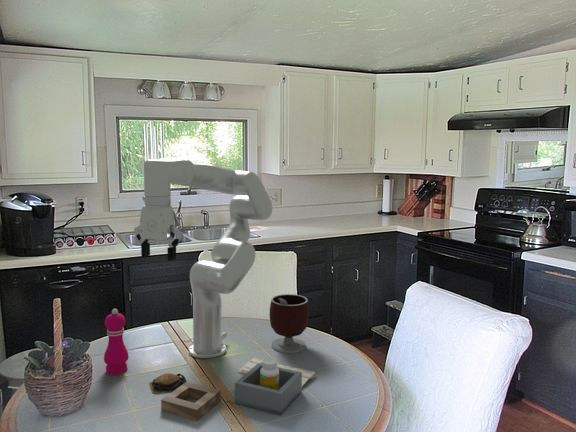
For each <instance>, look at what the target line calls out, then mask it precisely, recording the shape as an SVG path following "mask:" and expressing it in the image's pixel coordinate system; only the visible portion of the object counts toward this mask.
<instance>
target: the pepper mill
mask: <svg viewBox="0 0 576 432" xmlns="http://www.w3.org/2000/svg"><path fill="white" fill-rule="evenodd" d="M125 325H126V317H125V316H124V314H122V313H120V312H119V310H118V309H117V308H113V309H112V310H111V313H110V314H109V315H107V316H106V318H105V320H104V326H105V327H106V335H107V336H108V344H107V347H106V348H105V352H104V354H103V355H104V356H103V362H104V363H105V364H106V366H105V372H106V374H107V375H110V376H118V375H121V374H124V373H126V372H127V371H128V363H127V361H128V360H129V351H128V349H127V347H126V345H125V343H124V338H123V337H124V335H123V334H124V333H125V331H124V330H125V328H124V327H125Z"/></svg>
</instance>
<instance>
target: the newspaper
mask: <svg viewBox="0 0 576 432" xmlns="http://www.w3.org/2000/svg"><path fill="white" fill-rule="evenodd" d="M263 360H264V359H263V358H257V357H253V358H252V359H250V360H249V361H247V362H246V363H245V364H244V365H243V366H242V367H240V369H238V372H237V373H238V374H241V375H243V376H244V375H245V374H246V373H247V372H248V371H250V370H251V369H252V368H253V367H254V366H256V365H257V364H258V363H261V364H263ZM277 367H279V368H284V369H288V370H293V371H298V372H302V387H303V386H304V385H305V384H306V383H307V382H308V381H309V380H311V379H314V378H315V377H316V375H317V374H316V371H312V370H309V369H304V368H299V367H294V366H291V365H286V364H281V363H279V362H277Z"/></svg>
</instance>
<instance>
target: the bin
mask: <svg viewBox="0 0 576 432" xmlns="http://www.w3.org/2000/svg"><path fill="white" fill-rule="evenodd" d="M262 367H263V364H261V363H258V364H257V365H256V366H254V367H253V368H252V369H251V370H250V371H248V372H247V373H246V374H245V375H244V374H243V375H242V377H240V378H239V379H238V380H237V381H235V382H234V404H235V405H240V406H243V407H246V408H250V409H255V410H259V411H262V412H266V413H270V414H274V415H276V416H277V415H278V416H282V415H283V414H284V413H285V412H286V411H287V409H288V408H289V407H290V406H291V405H292V403H294V401H295V400H297V398H298V397H299V395H300V394H301V393H302V388H303V386H302V372H298V371H293V370H288V369H284V368H279V367H277V368H278V369H279V390H275V389H271V388H267V387H262V386H260V370H261V368H262Z"/></svg>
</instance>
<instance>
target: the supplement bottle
mask: <svg viewBox="0 0 576 432" xmlns="http://www.w3.org/2000/svg"><path fill="white" fill-rule="evenodd" d="M262 360H263V367H262V368H261V370H260V386H262V387H267V388H271V389H275V390H279V369H278V368H277V363H278V361H277V359H276V358H264V359H262Z"/></svg>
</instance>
